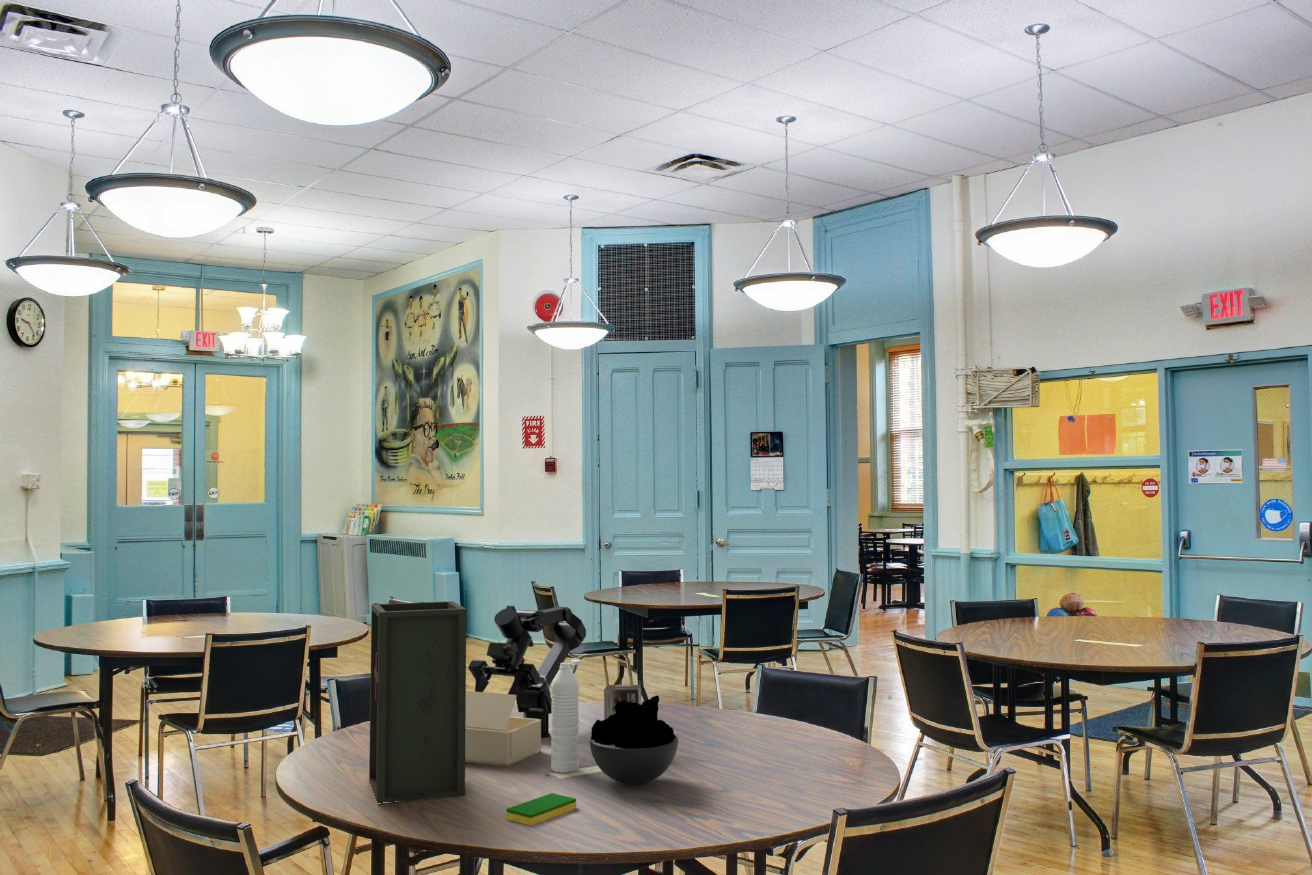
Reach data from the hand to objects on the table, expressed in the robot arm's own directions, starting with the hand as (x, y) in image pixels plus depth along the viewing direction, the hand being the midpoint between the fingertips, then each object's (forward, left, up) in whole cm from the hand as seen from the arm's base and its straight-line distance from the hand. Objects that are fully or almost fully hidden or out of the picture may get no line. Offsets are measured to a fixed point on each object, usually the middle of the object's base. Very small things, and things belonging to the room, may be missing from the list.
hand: (491, 699), depth 255 cm
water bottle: (-14, +20, -14) cm, 28 cm away
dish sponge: (+1, +51, -14) cm, 53 cm away
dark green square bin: (+22, +23, -14) cm, 35 cm away
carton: (0, 0, -14) cm, 14 cm away
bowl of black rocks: (-24, +38, -14) cm, 47 cm away
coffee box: (-32, +9, -14) cm, 36 cm away
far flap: (+4, +4, -1) cm, 6 cm away
